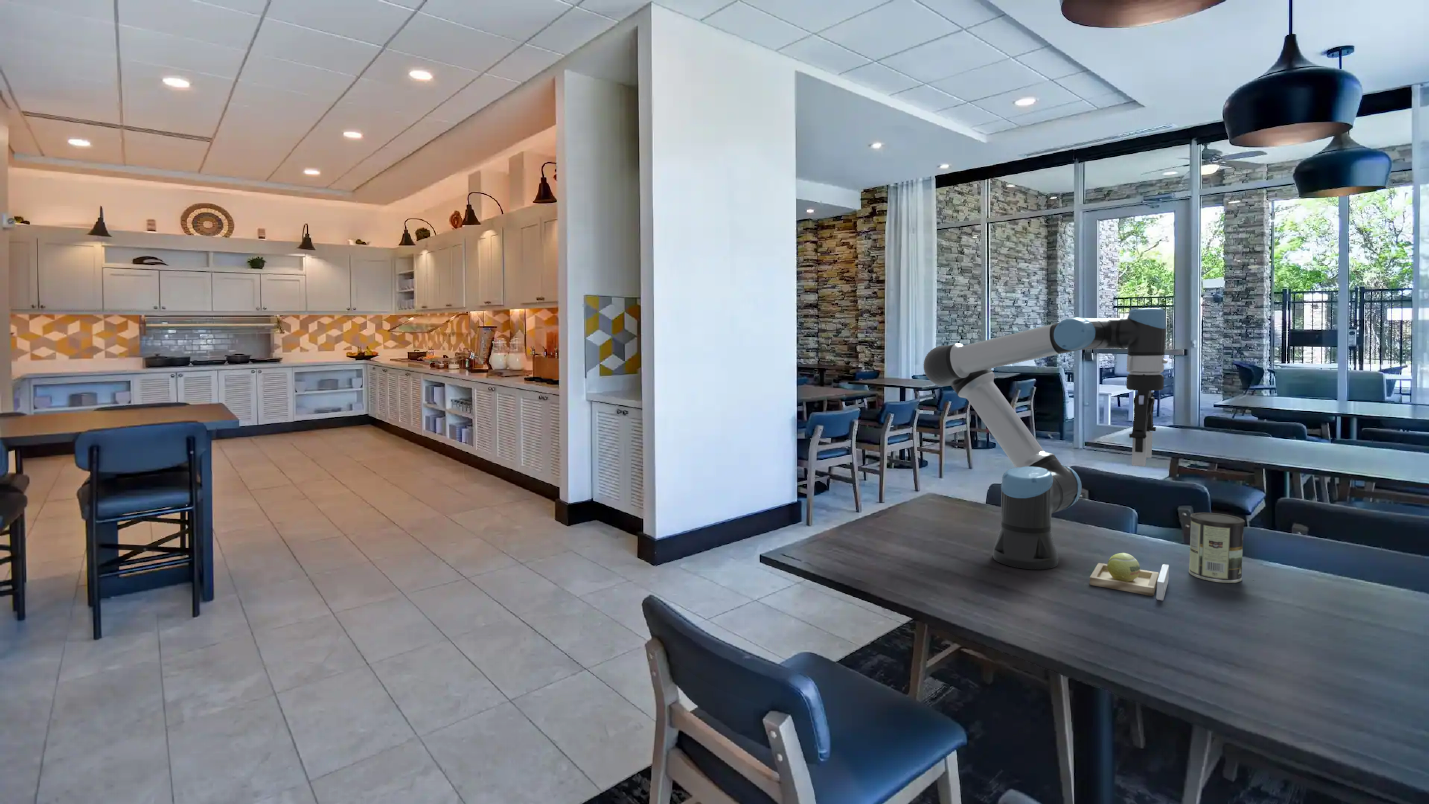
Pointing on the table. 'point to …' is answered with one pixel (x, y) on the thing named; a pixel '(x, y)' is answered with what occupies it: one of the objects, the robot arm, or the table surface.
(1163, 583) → the panel
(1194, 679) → the table surface
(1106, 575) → the tray
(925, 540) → the table surface
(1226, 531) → the coffee can
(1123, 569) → the tennis ball
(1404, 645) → the table surface
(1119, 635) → the table surface
